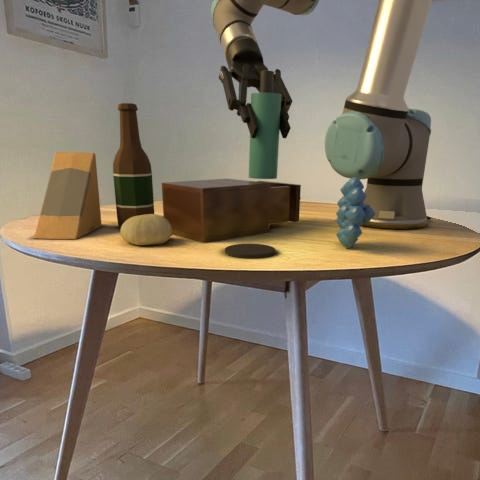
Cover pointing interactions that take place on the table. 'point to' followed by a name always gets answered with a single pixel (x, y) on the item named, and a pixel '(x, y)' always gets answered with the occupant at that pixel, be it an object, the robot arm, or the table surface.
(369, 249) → the table surface
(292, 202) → the drawer
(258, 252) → the mat
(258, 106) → the soap bottle
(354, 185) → the grapes
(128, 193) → the beer bottle
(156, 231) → the sea urchin shell
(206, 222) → the cabinet
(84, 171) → the sandwich container
